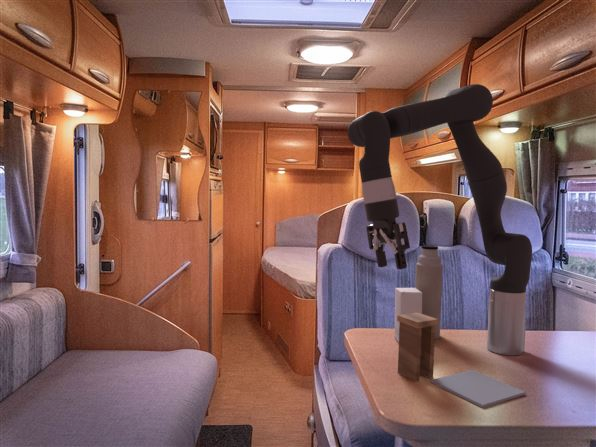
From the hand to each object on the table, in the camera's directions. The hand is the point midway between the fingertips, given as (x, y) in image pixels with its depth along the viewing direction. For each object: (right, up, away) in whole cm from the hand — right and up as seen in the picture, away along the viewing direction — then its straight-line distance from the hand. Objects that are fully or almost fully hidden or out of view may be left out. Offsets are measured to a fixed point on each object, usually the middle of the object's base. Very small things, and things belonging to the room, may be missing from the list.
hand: (392, 267), depth 105 cm
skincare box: (+10, -25, +28) cm, 39 cm away
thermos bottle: (+18, -25, +34) cm, 46 cm away
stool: (+6, -26, +3) cm, 27 cm away
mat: (+18, -27, -4) cm, 32 cm away
